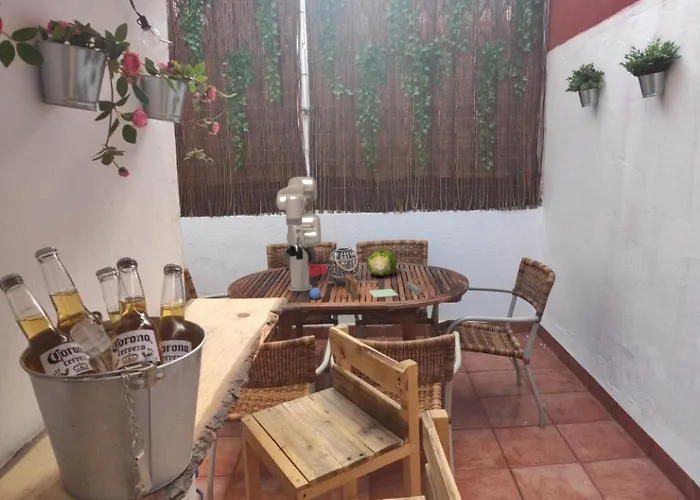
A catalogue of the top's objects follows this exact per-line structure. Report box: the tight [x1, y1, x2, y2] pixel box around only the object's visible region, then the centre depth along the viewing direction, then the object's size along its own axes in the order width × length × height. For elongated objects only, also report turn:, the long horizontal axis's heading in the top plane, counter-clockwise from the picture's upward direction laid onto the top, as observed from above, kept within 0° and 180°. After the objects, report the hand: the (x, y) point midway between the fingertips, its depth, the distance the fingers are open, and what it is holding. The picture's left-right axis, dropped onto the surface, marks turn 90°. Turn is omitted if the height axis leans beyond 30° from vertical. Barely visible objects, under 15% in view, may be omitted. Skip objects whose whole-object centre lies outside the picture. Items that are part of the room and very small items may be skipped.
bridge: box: [344, 273, 359, 301], centre depth 259 cm, size 3×15×9 cm, turn 11°
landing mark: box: [368, 288, 399, 298], centre depth 263 cm, size 12×12×1 cm
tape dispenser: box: [309, 263, 327, 278], centre depth 307 cm, size 14×10×5 cm
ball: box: [309, 287, 322, 300], centre depth 256 cm, size 6×6×6 cm
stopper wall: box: [406, 281, 422, 296], centre depth 266 cm, size 16×2×2 cm, turn 11°
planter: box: [282, 246, 318, 272], centre depth 319 cm, size 17×8×21 cm
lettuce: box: [366, 248, 398, 277], centre depth 295 cm, size 16×21×15 cm
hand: (296, 257), depth 250 cm, fingers open, 9 cm apart
